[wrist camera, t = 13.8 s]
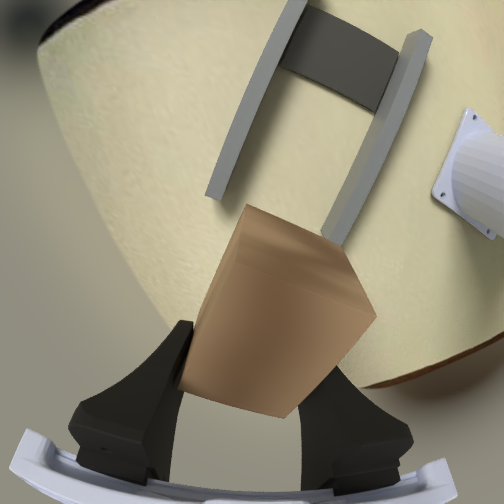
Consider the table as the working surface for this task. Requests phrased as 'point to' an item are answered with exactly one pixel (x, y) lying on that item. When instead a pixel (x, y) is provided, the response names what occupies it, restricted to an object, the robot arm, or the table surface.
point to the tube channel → (342, 81)
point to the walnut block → (274, 317)
